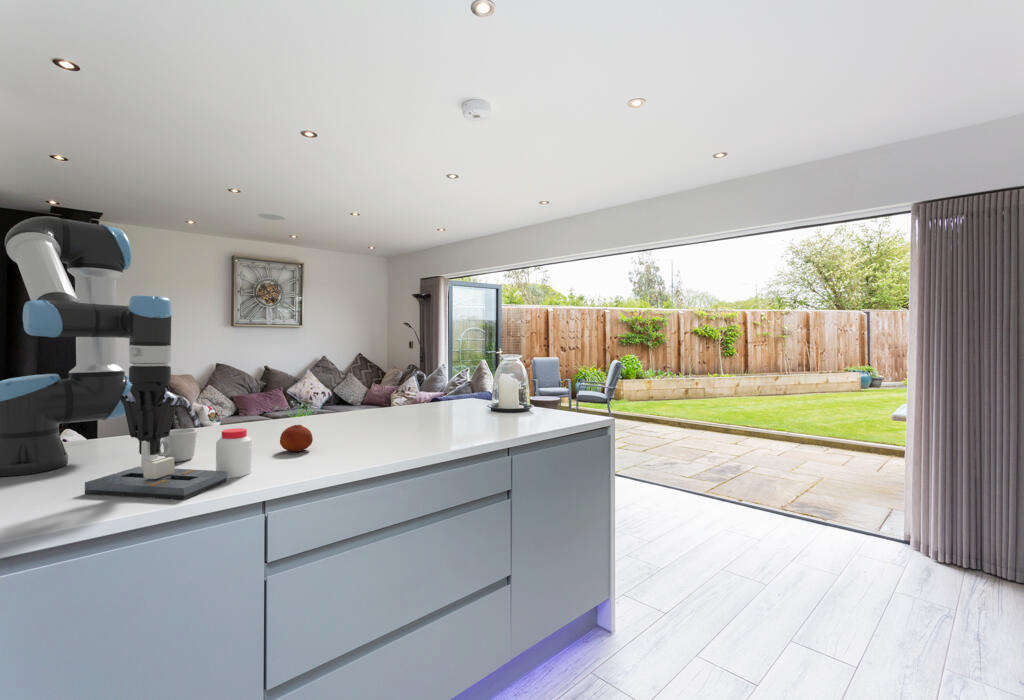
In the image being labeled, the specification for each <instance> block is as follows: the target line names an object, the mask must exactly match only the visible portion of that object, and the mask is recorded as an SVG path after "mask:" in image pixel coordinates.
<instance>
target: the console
mask: <svg viewBox="0 0 1024 700" xmlns="http://www.w3.org/2000/svg"><path fill="white" fill-rule="evenodd" d="M166 476H171V480H170V479H150V478H144V470H141V466H136V467H132V468H129V469H126V470H122V471H119V472H116V473H111V474H109V475H106V476H101V477H98V478H95V479H92V480H89V481H85V482H84V495H93V496H94V495H95V496H97V495H98V496H112V497H113V496H114V497H126V498H142V499H144V498H146V499H159V500H161V499H162V500H176V501H177V500H178V501H185V500H188V499H191V498H192V497H194V496H197V495H199V494H202V493H204V492H206V491H209V490H211V489H213V488H217V487H218V486H220V485H223V484H225V483H227V482H228V478H227V471H216V470H210V469H209V470H207V469H192V468H191V469H189V468H188V469H187V468H174V473H172V474H169V475H166Z"/></svg>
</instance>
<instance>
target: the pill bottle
mask: <svg viewBox="0 0 1024 700" xmlns="http://www.w3.org/2000/svg"><path fill="white" fill-rule="evenodd" d="M247 433H248V429H247V428H239V427H238V428H235V427H234V428H228V429H223V430H221V437H220V438H218V439H217V441H216V442H215V447H216V448H215V471H227V479H232V478H240V477H245V476H249V475H250V474H251V473H252V454H253V453H252V446H253V444H252V442H253V441H252V438H251V437H250V436H248V434H247Z"/></svg>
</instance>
